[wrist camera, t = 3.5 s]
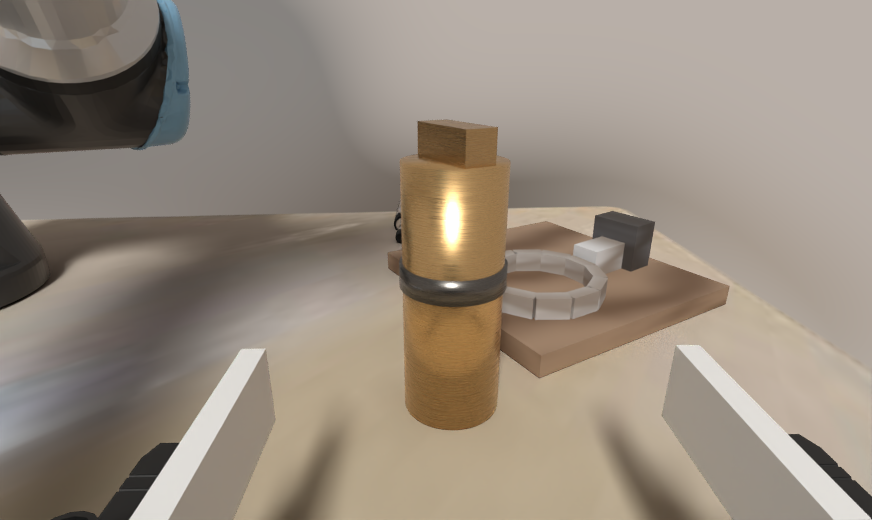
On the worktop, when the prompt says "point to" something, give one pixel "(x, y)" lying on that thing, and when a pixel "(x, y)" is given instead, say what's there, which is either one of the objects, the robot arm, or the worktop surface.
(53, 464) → the worktop surface
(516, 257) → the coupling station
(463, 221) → the coupling
